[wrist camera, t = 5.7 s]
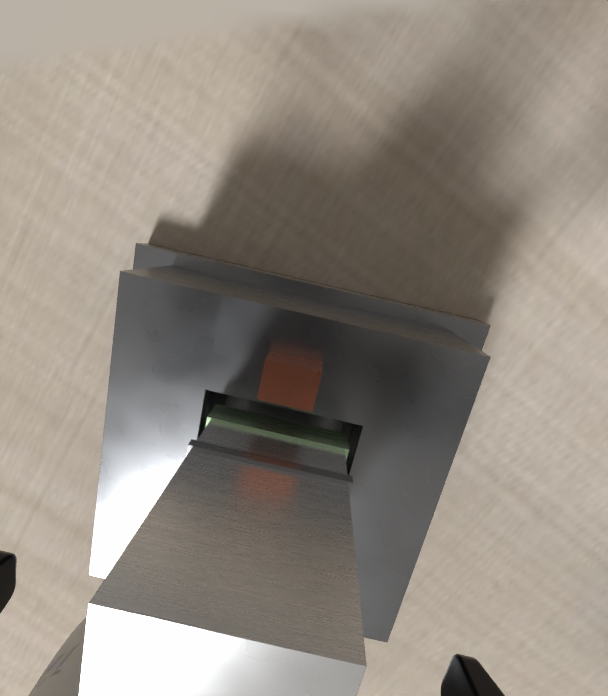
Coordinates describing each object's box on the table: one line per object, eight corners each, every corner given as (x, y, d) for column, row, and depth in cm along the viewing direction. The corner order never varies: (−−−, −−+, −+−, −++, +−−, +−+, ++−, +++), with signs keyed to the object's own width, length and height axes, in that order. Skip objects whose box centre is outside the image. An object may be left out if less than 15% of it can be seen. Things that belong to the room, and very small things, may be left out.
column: (347, 433, 12) (375, 663, 5) (316, 543, 13) (308, 849, 7) (216, 403, 12) (82, 596, 5) (196, 516, 13) (62, 793, 7)
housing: (480, 320, 16) (567, 362, 10) (398, 557, 19) (430, 691, 13) (147, 243, 16) (46, 240, 10) (117, 493, 19) (27, 600, 13)
